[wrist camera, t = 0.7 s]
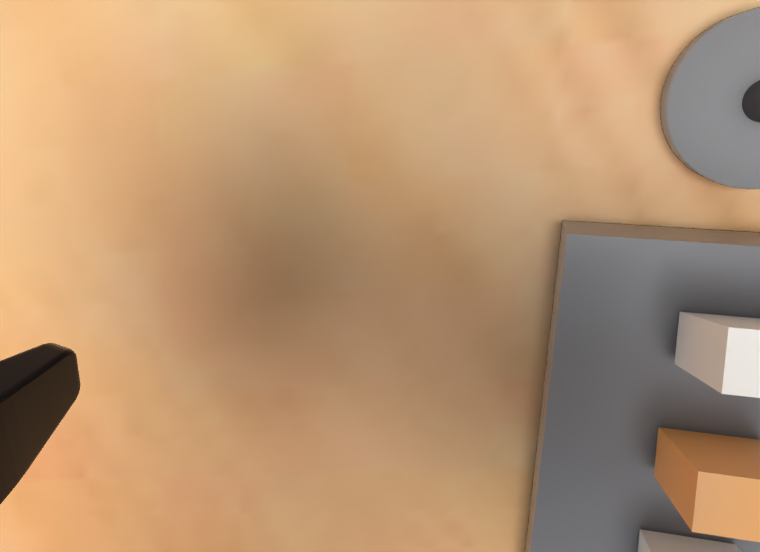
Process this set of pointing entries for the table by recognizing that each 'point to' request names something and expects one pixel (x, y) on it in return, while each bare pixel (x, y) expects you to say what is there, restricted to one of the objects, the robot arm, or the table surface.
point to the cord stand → (717, 102)
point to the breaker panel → (631, 378)
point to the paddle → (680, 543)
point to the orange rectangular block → (711, 481)
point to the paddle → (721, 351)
